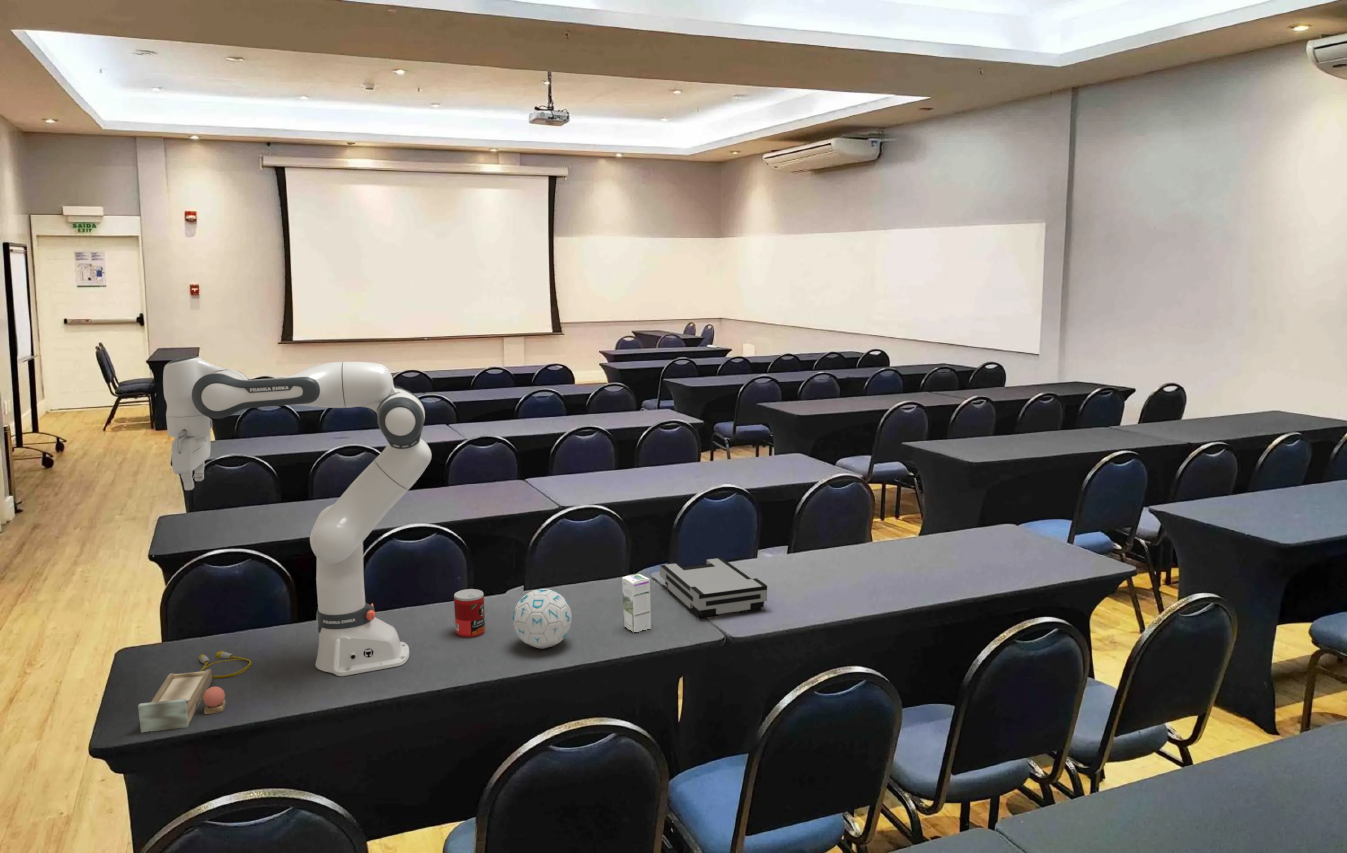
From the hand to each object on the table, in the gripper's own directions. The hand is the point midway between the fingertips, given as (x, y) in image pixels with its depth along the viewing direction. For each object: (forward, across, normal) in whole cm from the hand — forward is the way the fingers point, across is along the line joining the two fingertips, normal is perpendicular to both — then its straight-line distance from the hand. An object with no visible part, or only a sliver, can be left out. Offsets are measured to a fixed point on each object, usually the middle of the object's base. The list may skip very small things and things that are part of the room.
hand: (194, 484), depth 219 cm
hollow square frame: (+47, -20, -5) cm, 51 cm away
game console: (+48, +19, -132) cm, 141 cm away
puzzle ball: (+48, -3, -80) cm, 93 cm away
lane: (+47, -15, +4) cm, 50 cm away
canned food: (+48, +11, -62) cm, 79 cm away
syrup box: (+48, +2, -106) cm, 116 cm away
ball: (+44, -20, -5) cm, 49 cm away
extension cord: (+48, +5, -2) cm, 48 cm away
